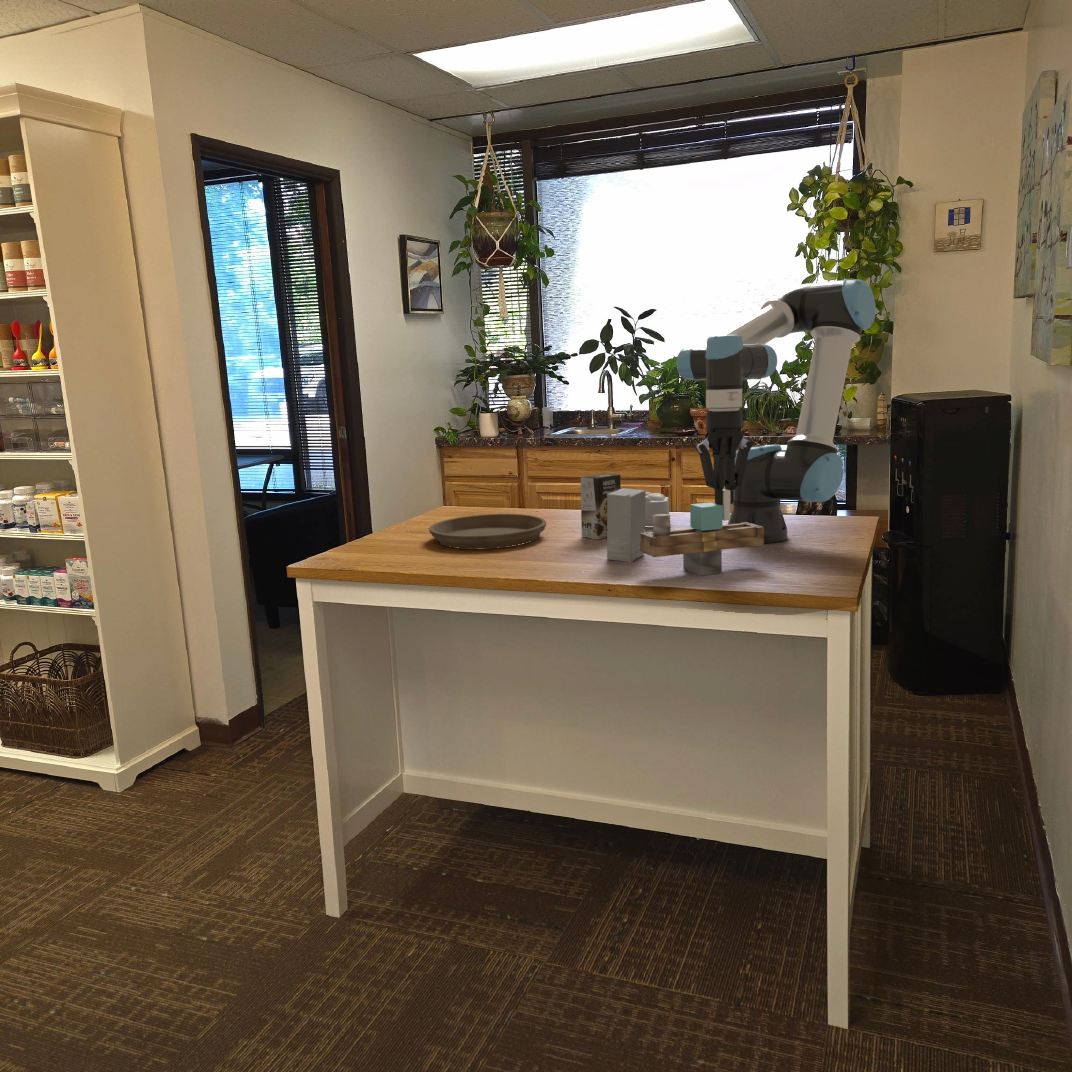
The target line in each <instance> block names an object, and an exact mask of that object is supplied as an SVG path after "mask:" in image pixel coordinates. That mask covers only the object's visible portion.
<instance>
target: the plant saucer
mask: <svg viewBox="0 0 1072 1072" xmlns="http://www.w3.org/2000/svg"><path fill="white" fill-rule="evenodd" d="M546 526H547V521H546V520H545V519H544V518H542V517H539V516H536V515H530V514H524V513H523V514H522V513H491V514H490V513H488V514H487V513H486V514H485V513H483V514H475V515H474V514H473V515H465V516H459V517H453V518H448V519H444V520H440V521H439V522H435V523H432V524H431V525H430V526H429V527H428V531H429V533H430V534H431V536H432V537H433V538H434V539H436V540H437V542H438V543H439V542H440V543H441V544H443V545H446V546H445V547H447V546H451V547H459V548H495V549H498V548H497V547H506V546H512V545H518V544H522V543H526V542H529V541H532V542H534V541H535V539H536V540H537V539H538V538H539V537H540V534H541V533H542V532H543V531H545V528H546ZM533 540H534V541H533ZM440 543H439V544H440ZM441 544H440V545H441ZM443 545H442V546H443ZM518 546H519V545H518ZM451 547H450V548H451ZM459 548H458V549H459ZM506 548H507V547H506Z"/></svg>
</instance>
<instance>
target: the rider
mask: <svg viewBox="0 0 1072 1072" xmlns="http://www.w3.org/2000/svg"><path fill="white" fill-rule="evenodd" d="M689 505H690V507H689V508H690V509H689V510H690V514H689V515H690V516H689V517H690V521H689V522H690V527H689V528H694V529H697V530H695V532H702V531H712V530H717V529H722V525H723V520H722V505H719V504H715V502H714V503H713V502H702V503H691V504H689Z"/></svg>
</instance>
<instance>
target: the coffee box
mask: <svg viewBox="0 0 1072 1072" xmlns="http://www.w3.org/2000/svg"><path fill="white" fill-rule="evenodd" d="M621 487H622V486H621V474H617V473H599V474H591V475H585V476H580V513H581V514H580V515H581V516H580V517H581V518H580V519H581V524H580V525H581V538H586V537H587V538H588V539H591V538H593V539H592V540H596V539H598V540H603V539H607V538H606V537H607V494H609V493H612V492H615V491H617V490H620V489H622V488H621ZM587 538H586V539H587ZM602 538H603V539H602Z"/></svg>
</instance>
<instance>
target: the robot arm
mask: <svg viewBox="0 0 1072 1072" xmlns="http://www.w3.org/2000/svg"><path fill="white" fill-rule="evenodd" d="M876 313H877V312H876V302H875V297H874V293H873V290H872V288H871V286H870V285H869V284H868V283H867V282H866V281H865V280H862V279H848V278H846V279H845V278H844V279H843V280H842V279H841V280H832V281H823V282H809V283H803V284H800V285H798V286H795V287H792V288H790V289H788V290H785V291H784V292H782V293H780V294H778V295H776V296H774V297H772V298H771V299H769V300H767V301H766V302H765V303H763V305H761V308H760V310H758V311H756V312H755V313H753V314H752V315H750V316H748V317H747V318H746V319H743V320H742V321H740V322H738V323H737V324H734V326H732V327H730V328H728V329H727V330H725V331H724V332H722V333H720V334H718V335H711V336H709V337H708V338H707V340H706V342H705V343H703V344H701V345H698V346H697V345H696V346H695V345H691V346H689V347H688V346H687V347H683V348H682V349H681V350H680V351H679V352H678V354H677V357H676V367H677V372H678V374H679V376H680V377H681V378H682V379H683V380H690V381H696V382H697V381H706V387H705V389H706V390H705V394H706V395H705V407H706V409H708V411H706V413H705V418H706V419H705V427H706V433H705V435H704V440H703V441H701V442H700V443H695V445H694V448H695V450H696V451H697V454H699V459H700V463H701V468H702V473H703V477H704V481H705V482H704V483H705V486H706V487H708V488H711V489H713V491H714V503H715V504H719V505H722V522H723V521H724V522H725V521H727V524H726V525H729V524H739V523H743V522H748V523H752V524H755V525H759V526H762V527H764V544H770V543H777V542H782V541H783V542H784V541H785V540H787V539H788V527H787V524H786V520H785V517H784V514H783V512H782V508H781V500H788V501H798V502H799V501H801V502H805V503H824V502H826V501H829V500H830V499H831V498H832V497H834V496H835V494H836V493H837V492H838V490H839V488H840V487H841V484H842V482H843V479H844V470H845V469H844V461H843V459H842V457H841V456H840V455H838V447H837V446H836V444H835V443H834V442H833V441H834V436H835V432H836V425H837V421H838V417H839V412H840V408H841V407H840V406H841V401H842V398H843V396H842V395H843V391H844V387H845V381H846V376H847V371H848V367H849V363H850V357H851V352H852V347H853V346H854V345H855V344H856V343H858V342H860V340H861V336H862V331H863V330H864V331H865V330H867V329H869V328H871V327H872V325H873V324H874V322H875V318H876ZM802 332H803V333H805V332H809V333H810V335H811V337H812V338H813V339H814V345H813V350H812V355H811V360H810V364H809V370H808V374H807V380H806V384H805V388H804V395H803V399H802V403H801V408H800V413H799V419H798V424H797V427H796V433H795V435H794V437H792V438H790V440H787V445H786V449H785V451H784V450H783V449H782V446H781V444H769V445H761V446H754V442H753V441H752V440H748V439H747V438H745V437H744V434H743V431H742V427H743V411H742V410H741V409H740V408H742V407H743V381H744V380H761V379H765V378H768V377H770V376H772V375H773V373H775V371H776V369H777V366H778V355H777V353H776V351H775V349H774V348H773V347H772V346H770V345H768V344H767V343H769V342H771V341H772V340H773V339H776V338H778V339H779V338H781V339H782V338H784V337H787V336H788V335H790V334H795V333H802ZM738 447H739V448H738ZM737 448H738V449H737ZM710 449H711V452H712V454H710ZM711 455H712V456H711ZM711 457H712V458H711ZM712 459H713V462H712ZM731 505H732V509H731Z"/></svg>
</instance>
